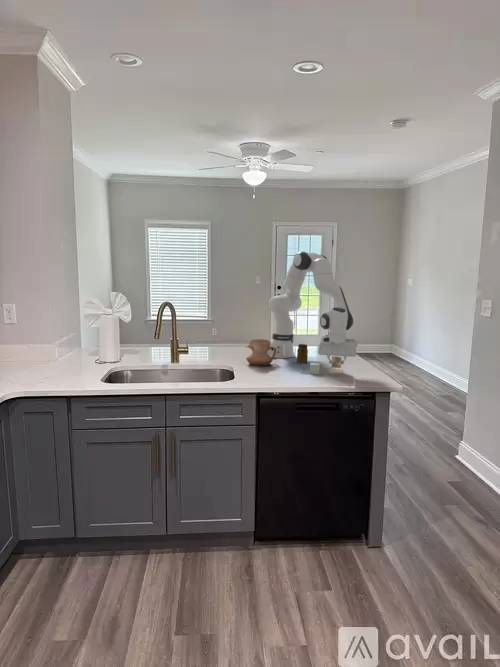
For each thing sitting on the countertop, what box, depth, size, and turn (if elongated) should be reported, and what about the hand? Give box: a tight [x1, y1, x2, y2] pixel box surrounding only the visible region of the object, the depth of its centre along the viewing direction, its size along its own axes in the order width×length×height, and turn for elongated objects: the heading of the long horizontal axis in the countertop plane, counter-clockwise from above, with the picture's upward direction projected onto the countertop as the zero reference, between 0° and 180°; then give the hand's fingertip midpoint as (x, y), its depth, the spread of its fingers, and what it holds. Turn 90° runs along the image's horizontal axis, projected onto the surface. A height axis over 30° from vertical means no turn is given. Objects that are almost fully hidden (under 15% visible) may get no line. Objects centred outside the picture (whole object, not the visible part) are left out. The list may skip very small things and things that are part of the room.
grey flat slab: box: [300, 366, 344, 378], centre depth 234 cm, size 22×15×1 cm
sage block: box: [309, 362, 321, 375], centre depth 230 cm, size 5×5×5 cm
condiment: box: [296, 343, 309, 365], centre depth 252 cm, size 7×8×12 cm
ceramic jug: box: [245, 338, 276, 367], centre depth 250 cm, size 18×14×14 cm
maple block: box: [331, 355, 342, 369], centre depth 232 cm, size 5×5×5 cm
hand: (336, 363), depth 233 cm, fingers closed on maple block, 5 cm apart
